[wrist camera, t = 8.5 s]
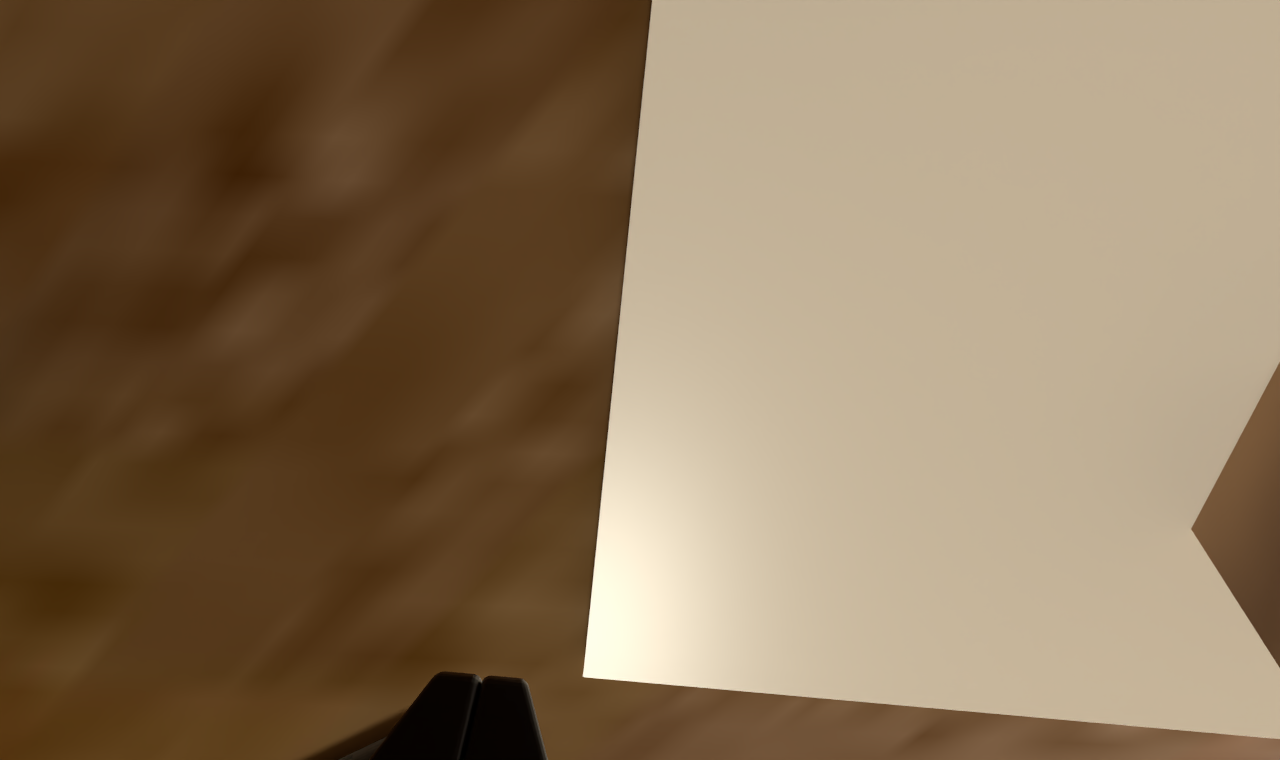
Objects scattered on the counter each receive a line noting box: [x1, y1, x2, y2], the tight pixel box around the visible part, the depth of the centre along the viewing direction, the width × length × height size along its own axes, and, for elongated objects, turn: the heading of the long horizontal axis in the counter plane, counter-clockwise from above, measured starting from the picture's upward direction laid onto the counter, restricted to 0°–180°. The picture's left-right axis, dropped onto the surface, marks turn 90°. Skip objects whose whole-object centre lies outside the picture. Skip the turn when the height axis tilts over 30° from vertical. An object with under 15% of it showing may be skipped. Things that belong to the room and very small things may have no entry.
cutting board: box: [583, 0, 1280, 739], centre depth 22 cm, size 22×18×1 cm
